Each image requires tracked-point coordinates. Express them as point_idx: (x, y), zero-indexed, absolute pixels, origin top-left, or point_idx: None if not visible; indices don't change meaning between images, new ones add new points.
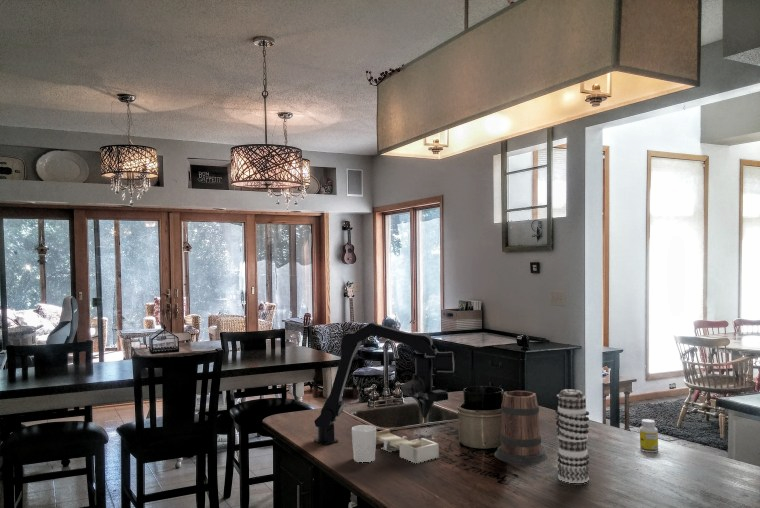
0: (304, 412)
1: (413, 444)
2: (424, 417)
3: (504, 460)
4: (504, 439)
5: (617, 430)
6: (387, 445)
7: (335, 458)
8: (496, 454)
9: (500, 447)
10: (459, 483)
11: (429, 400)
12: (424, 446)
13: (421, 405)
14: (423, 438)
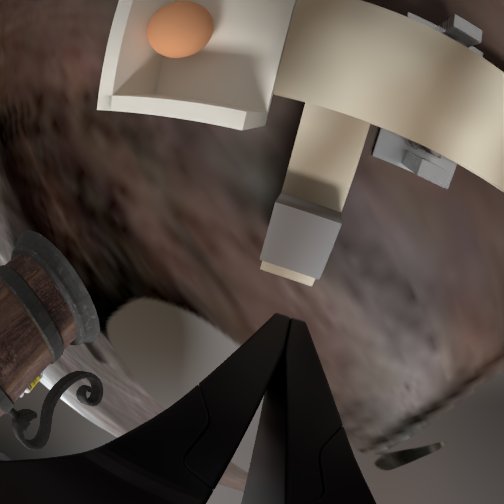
0: None
1: (292, 72)
2: (274, 318)
3: (35, 234)
4: (9, 280)
5: (106, 429)
6: (444, 25)
7: None
8: (61, 262)
9: (62, 294)
10: (21, 21)
11: (7, 459)
12: (121, 12)
13: (281, 461)
14: (228, 123)
